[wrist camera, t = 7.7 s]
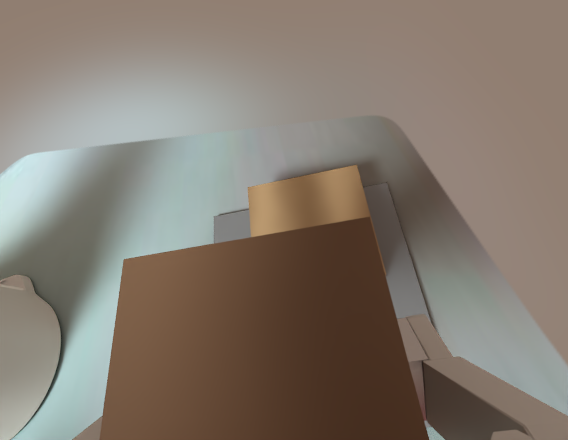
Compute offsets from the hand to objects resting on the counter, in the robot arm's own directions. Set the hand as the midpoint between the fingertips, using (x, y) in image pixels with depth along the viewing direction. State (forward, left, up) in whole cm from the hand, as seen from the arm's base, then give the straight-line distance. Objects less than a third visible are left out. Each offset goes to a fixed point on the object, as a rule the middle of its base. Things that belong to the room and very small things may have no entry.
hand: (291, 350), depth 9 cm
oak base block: (0, +10, -17) cm, 20 cm away
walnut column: (0, -1, -5) cm, 5 cm away
